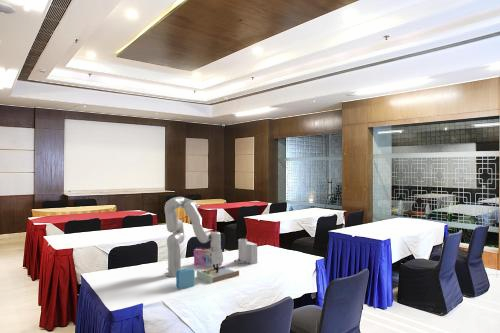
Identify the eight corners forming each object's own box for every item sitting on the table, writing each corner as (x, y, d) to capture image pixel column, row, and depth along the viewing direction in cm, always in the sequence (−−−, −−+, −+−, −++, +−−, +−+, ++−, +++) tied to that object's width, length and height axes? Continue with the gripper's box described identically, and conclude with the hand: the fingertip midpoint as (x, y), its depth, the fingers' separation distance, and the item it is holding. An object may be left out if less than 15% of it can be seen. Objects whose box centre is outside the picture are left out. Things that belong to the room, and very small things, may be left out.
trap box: (196, 277, 264) (196, 270, 264) (224, 270, 282) (224, 263, 282) (211, 283, 250) (211, 276, 250) (239, 275, 267) (239, 268, 267)
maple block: (205, 275, 260) (205, 270, 260) (212, 274, 264) (212, 268, 265) (210, 277, 257) (209, 272, 257) (216, 275, 261) (216, 270, 261)
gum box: (192, 265, 296) (192, 249, 296) (195, 263, 303) (195, 247, 303) (219, 267, 290) (219, 250, 290) (222, 264, 298) (221, 248, 298)
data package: (191, 284, 249) (191, 267, 249) (194, 285, 245) (194, 268, 245) (176, 287, 241) (176, 270, 241) (179, 289, 238) (178, 272, 238)
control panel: (257, 262, 301) (257, 239, 301) (239, 266, 291) (239, 242, 291) (247, 258, 315) (246, 236, 315) (229, 262, 304) (229, 239, 304)
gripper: (210, 250, 257) (211, 275, 257) (226, 247, 267) (227, 271, 267) (204, 249, 262) (205, 273, 262) (220, 246, 272) (221, 269, 272)
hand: (216, 272), depth 265 cm, fingers closed
